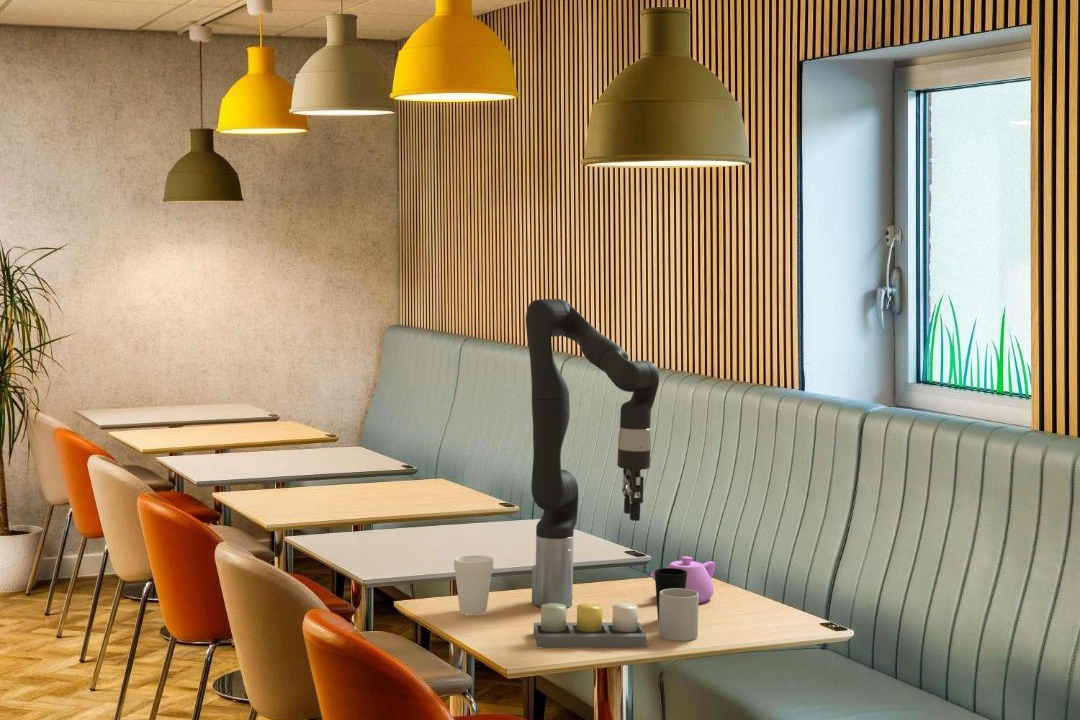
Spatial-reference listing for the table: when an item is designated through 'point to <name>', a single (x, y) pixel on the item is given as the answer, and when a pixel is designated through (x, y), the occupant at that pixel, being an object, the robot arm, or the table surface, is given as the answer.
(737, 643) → the table surface
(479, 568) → the foam cup
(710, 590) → the teapot
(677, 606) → the mug
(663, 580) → the cup
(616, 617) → the offwhite button
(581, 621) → the mustard button
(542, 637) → the grey compartment tray
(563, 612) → the sage button
